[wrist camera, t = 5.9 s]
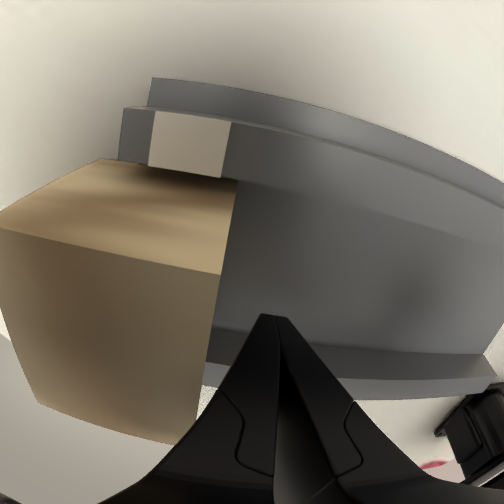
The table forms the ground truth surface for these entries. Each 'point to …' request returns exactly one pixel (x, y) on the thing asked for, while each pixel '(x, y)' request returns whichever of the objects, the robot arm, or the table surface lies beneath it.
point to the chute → (339, 237)
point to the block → (116, 292)
